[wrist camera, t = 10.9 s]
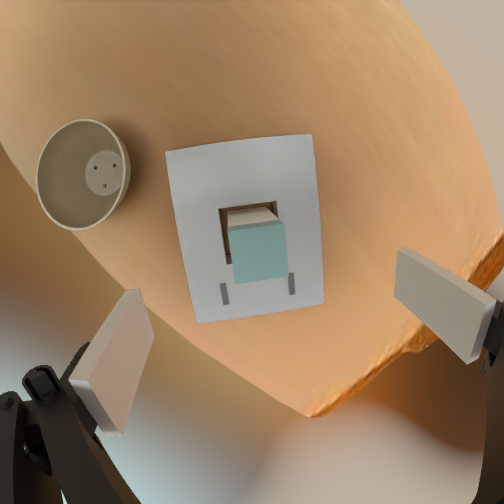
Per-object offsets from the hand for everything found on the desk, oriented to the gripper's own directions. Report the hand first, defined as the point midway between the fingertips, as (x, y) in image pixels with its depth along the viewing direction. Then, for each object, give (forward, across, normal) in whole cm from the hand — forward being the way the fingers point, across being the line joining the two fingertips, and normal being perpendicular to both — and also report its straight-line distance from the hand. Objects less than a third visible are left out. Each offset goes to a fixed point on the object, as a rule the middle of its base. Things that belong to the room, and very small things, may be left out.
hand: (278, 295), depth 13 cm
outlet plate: (+18, 0, -1) cm, 18 cm away
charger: (+18, 0, -1) cm, 18 cm away
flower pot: (+18, -15, +8) cm, 25 cm away
